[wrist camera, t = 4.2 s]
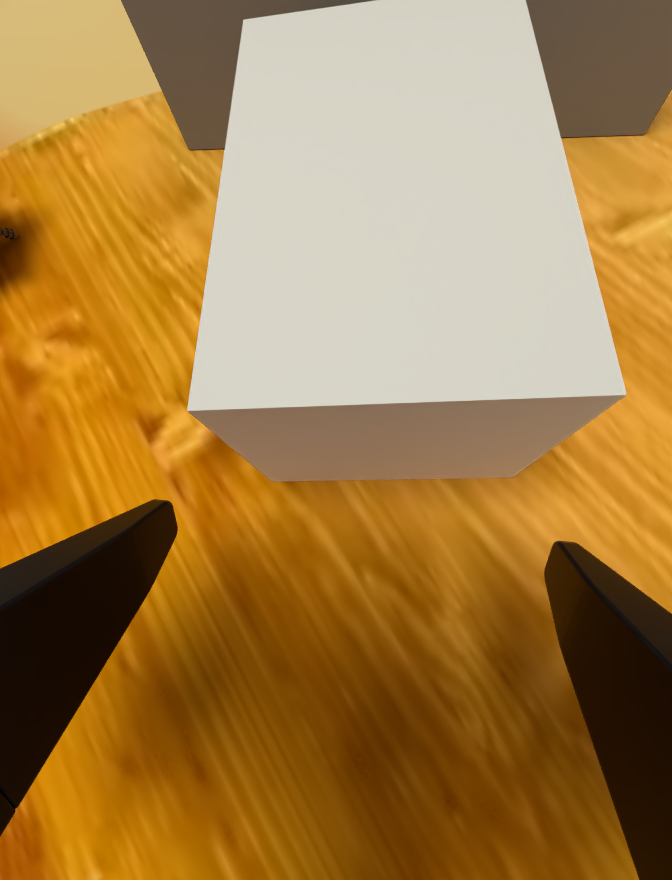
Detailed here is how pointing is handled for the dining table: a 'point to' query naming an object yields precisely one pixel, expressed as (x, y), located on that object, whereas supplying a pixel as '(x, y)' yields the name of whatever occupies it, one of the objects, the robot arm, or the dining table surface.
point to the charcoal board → (229, 3)
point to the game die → (8, 233)
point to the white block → (398, 251)
